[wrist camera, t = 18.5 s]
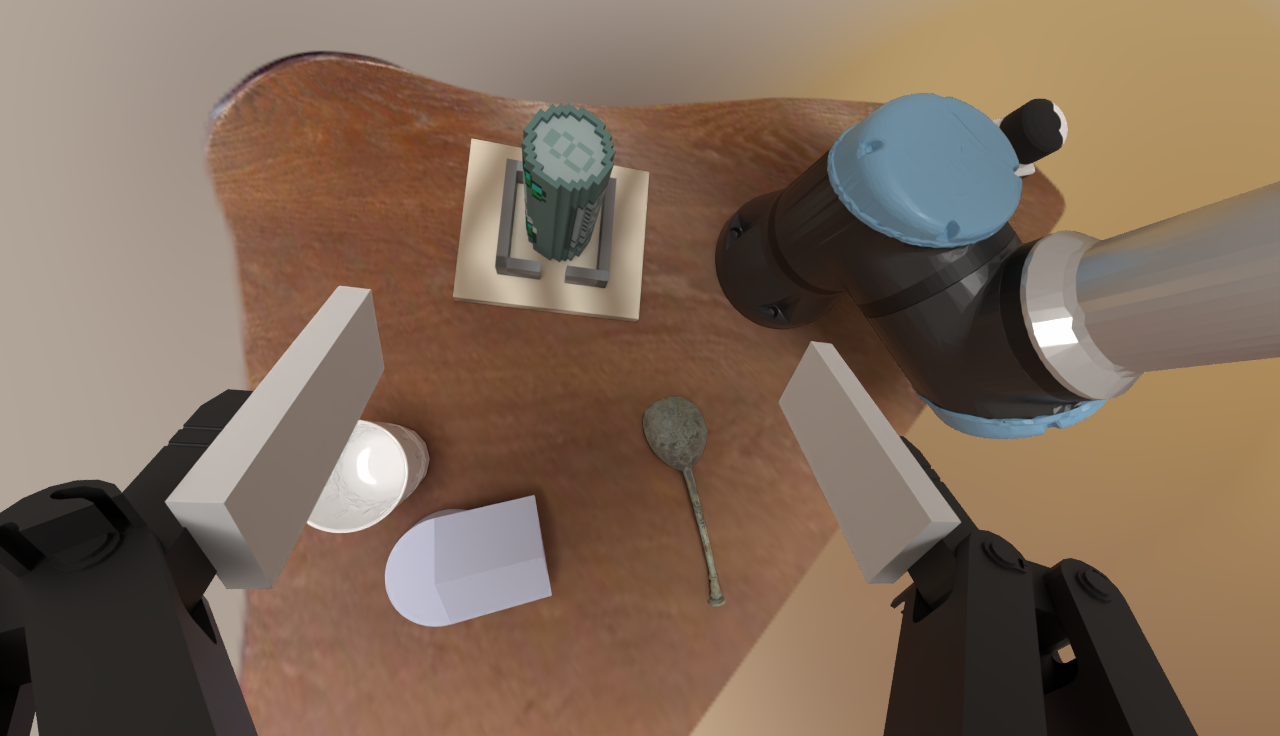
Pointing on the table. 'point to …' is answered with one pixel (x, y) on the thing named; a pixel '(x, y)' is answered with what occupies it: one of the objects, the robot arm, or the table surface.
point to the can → (564, 179)
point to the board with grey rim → (521, 277)
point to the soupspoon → (682, 458)
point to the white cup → (371, 477)
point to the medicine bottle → (1034, 132)
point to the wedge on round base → (468, 563)
